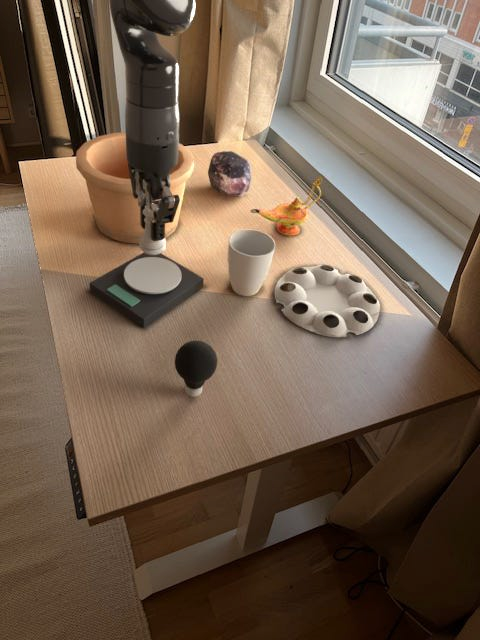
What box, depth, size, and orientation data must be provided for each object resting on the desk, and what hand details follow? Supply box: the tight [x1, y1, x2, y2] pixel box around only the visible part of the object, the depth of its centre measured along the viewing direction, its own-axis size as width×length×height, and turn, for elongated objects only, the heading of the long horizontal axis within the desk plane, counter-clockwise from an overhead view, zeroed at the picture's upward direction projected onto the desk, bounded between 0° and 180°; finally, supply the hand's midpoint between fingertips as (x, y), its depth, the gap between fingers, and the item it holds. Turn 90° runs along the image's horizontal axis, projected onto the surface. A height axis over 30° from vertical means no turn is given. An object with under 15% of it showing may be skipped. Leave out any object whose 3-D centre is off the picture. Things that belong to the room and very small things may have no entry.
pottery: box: [75, 131, 195, 245], centre depth 103 cm, size 22×22×14 cm
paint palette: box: [274, 264, 381, 338], centre depth 95 cm, size 20×20×2 cm
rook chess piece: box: [139, 205, 167, 255], centre depth 84 cm, size 4×4×8 cm
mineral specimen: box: [207, 150, 252, 198], centre depth 117 cm, size 10×10×10 cm
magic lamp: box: [250, 176, 323, 236], centre depth 107 cm, size 7×18×11 cm, turn 122°
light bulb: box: [174, 339, 218, 398], centre depth 73 cm, size 6×6×10 cm
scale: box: [89, 251, 205, 328], centre depth 91 cm, size 15×13×3 cm
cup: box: [227, 228, 276, 297], centre depth 92 cm, size 8×8×10 cm
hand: (152, 232), depth 85 cm, fingers closed on rook chess piece, 3 cm apart
